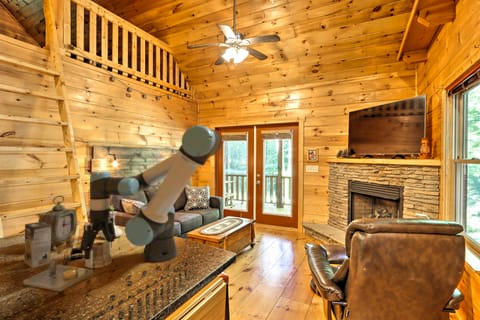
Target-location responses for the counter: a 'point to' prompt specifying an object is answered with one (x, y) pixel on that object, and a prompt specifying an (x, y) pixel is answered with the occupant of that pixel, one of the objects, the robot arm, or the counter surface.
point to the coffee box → (37, 244)
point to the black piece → (76, 257)
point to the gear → (100, 255)
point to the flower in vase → (112, 215)
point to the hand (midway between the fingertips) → (98, 261)
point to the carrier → (57, 277)
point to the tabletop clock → (60, 222)
